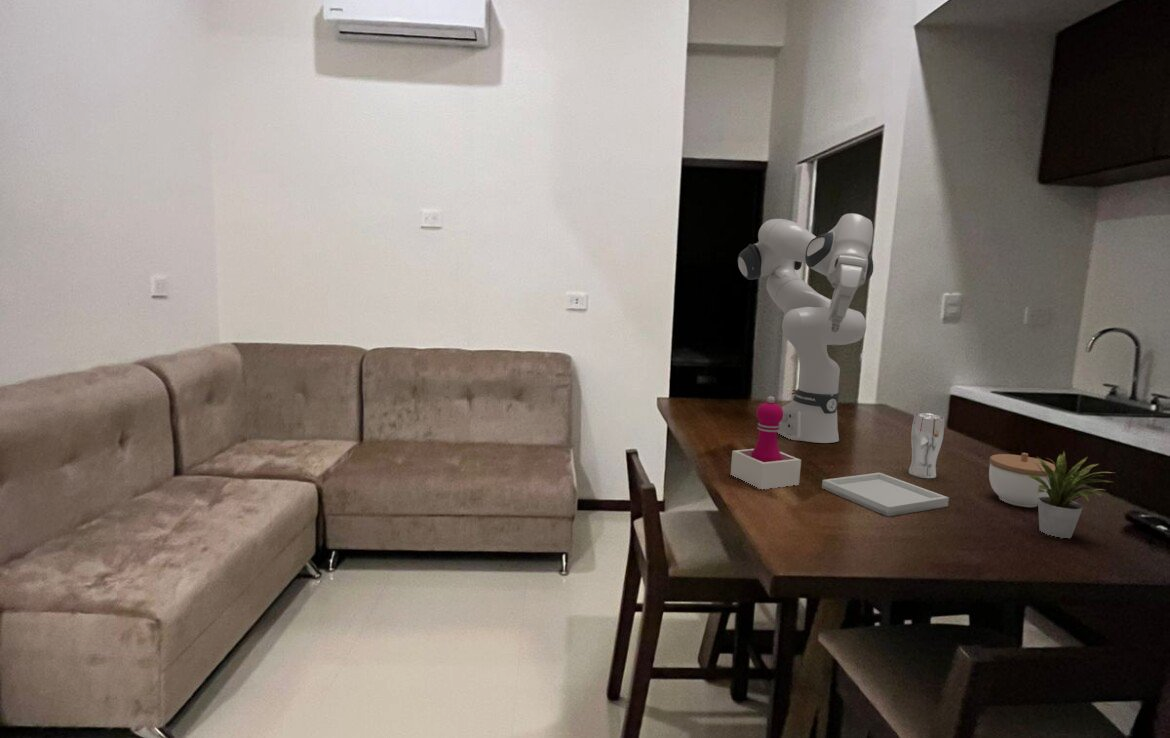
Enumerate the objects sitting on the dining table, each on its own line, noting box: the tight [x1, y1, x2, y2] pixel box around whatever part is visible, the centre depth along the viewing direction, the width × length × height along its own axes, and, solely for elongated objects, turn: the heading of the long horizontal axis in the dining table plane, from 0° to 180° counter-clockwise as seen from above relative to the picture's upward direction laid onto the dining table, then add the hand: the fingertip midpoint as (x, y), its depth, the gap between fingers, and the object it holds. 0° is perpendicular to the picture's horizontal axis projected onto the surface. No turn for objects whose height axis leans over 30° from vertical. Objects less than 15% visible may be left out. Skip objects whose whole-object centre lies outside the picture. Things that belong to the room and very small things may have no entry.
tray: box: [821, 472, 950, 518], centre depth 143 cm, size 18×18×2 cm
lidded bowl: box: [988, 452, 1055, 508], centre depth 143 cm, size 13×13×11 cm
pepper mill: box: [750, 395, 783, 462], centre depth 150 cm, size 7×7×20 cm
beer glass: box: [908, 412, 945, 479], centre depth 160 cm, size 7×7×15 cm
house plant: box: [1027, 450, 1115, 539], centre depth 124 cm, size 14×14×16 cm
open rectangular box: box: [730, 448, 802, 491], centre depth 151 cm, size 11×11×6 cm
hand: (837, 324), depth 157 cm, fingers open, 8 cm apart
